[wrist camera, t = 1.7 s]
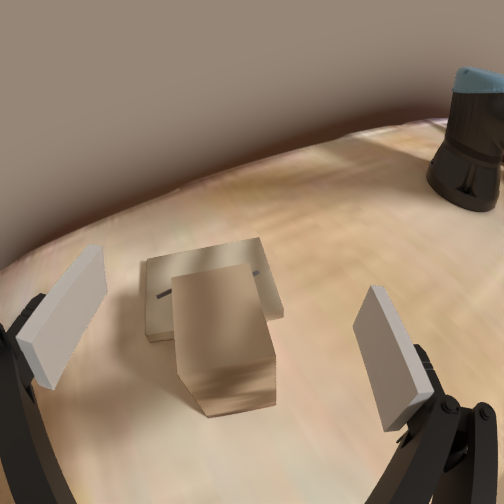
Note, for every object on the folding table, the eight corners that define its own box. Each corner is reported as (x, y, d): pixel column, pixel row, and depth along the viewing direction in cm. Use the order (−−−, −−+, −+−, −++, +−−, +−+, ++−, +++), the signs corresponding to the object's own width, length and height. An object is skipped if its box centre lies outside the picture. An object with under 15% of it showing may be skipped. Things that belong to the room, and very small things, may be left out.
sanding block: (256, 332, 31) (249, 262, 24) (276, 405, 25) (275, 355, 18) (197, 343, 30) (171, 277, 23) (208, 418, 24) (177, 374, 17)
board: (259, 246, 39) (259, 237, 38) (283, 317, 32) (283, 308, 30) (150, 267, 38) (147, 258, 37) (150, 342, 30) (145, 334, 29)
